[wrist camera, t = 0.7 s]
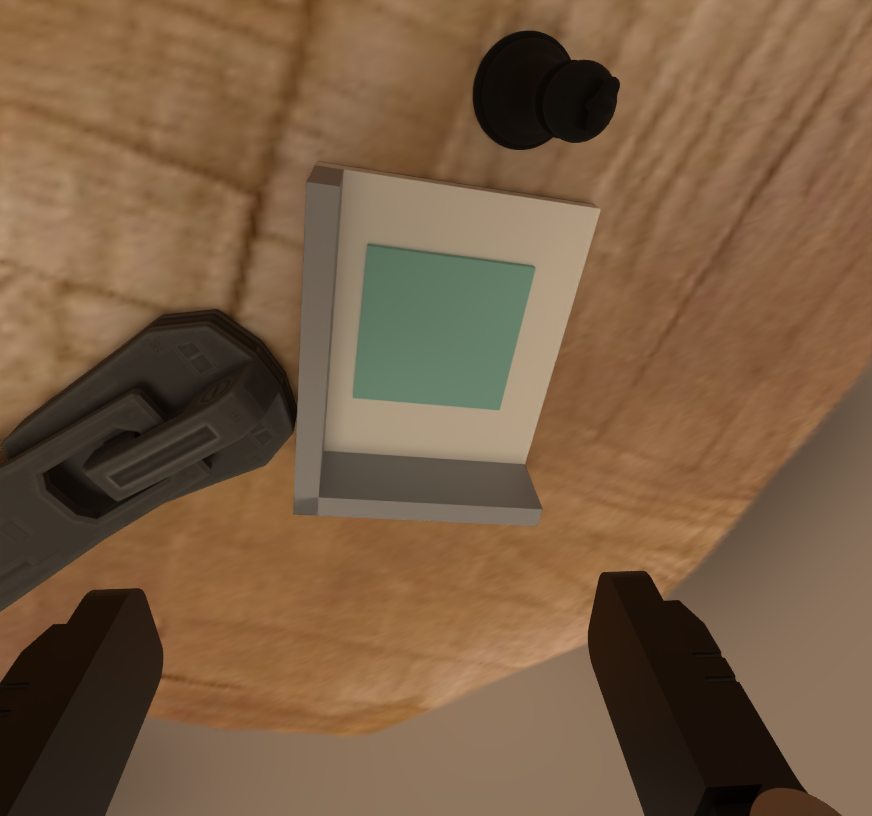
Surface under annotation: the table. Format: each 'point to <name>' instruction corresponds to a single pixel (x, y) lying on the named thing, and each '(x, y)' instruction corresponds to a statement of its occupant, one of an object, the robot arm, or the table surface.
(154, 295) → the table surface
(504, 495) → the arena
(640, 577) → the robot arm
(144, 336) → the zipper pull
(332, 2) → the table surface
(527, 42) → the chess piece
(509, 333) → the pad
